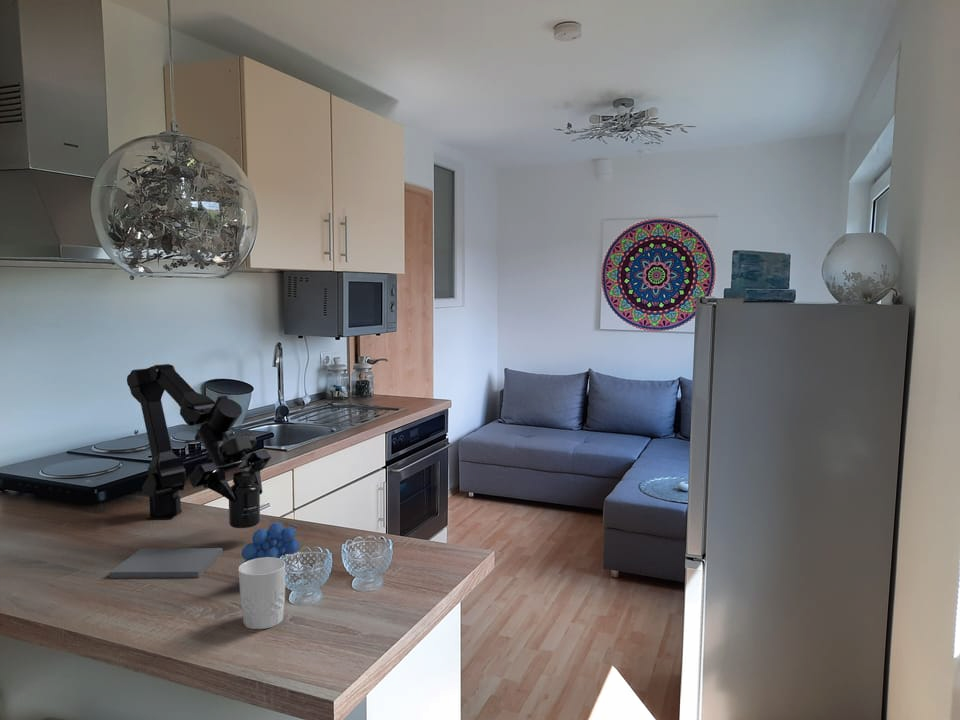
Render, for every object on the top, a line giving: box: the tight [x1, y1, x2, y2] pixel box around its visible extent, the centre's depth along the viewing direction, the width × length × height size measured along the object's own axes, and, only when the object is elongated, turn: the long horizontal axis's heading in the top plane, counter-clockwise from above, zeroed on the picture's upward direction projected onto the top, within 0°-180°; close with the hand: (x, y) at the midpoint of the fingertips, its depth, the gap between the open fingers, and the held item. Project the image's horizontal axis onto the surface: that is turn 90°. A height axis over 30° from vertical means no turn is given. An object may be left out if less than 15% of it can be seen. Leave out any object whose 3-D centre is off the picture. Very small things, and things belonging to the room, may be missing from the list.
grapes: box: [241, 521, 301, 564], centre depth 133 cm, size 12×7×12 cm, turn 121°
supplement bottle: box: [228, 470, 261, 529], centre depth 153 cm, size 7×7×12 cm
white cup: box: [237, 557, 287, 630], centre depth 116 cm, size 8×8×10 cm
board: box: [109, 547, 224, 579], centre depth 141 cm, size 18×13×1 cm
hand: (248, 497), depth 153 cm, fingers closed on supplement bottle, 7 cm apart
